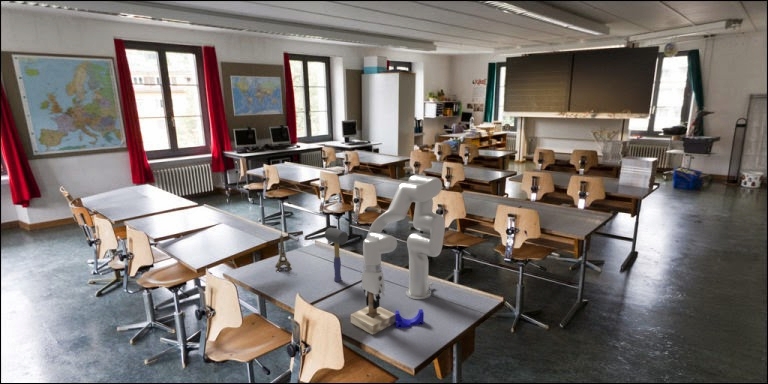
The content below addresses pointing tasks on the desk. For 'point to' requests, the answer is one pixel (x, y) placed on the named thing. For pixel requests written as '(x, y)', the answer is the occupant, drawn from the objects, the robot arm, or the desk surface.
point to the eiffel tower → (282, 261)
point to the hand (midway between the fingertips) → (372, 305)
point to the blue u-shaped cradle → (409, 320)
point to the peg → (371, 304)
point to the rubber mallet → (336, 248)
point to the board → (373, 319)
